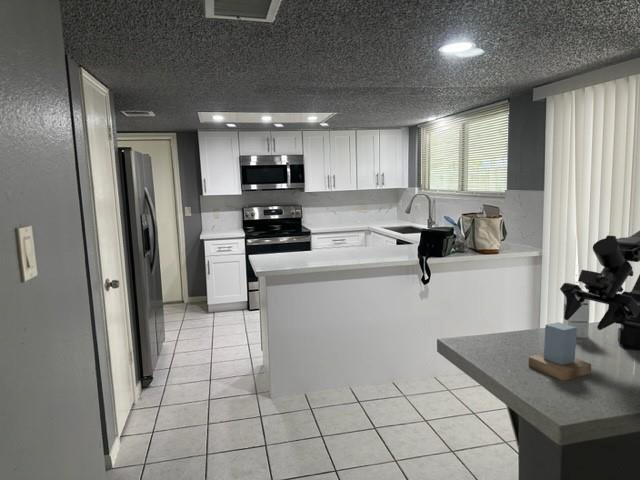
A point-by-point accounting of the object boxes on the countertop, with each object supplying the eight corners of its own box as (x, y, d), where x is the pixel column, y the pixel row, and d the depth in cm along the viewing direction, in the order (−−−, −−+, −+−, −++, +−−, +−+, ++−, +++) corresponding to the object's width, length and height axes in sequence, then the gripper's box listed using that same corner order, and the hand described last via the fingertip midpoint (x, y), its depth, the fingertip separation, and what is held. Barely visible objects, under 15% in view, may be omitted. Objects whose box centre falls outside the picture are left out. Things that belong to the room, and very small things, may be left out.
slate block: (556, 355, 115) (558, 322, 114) (574, 361, 111) (576, 327, 110) (543, 358, 113) (545, 324, 112) (561, 365, 109) (563, 330, 108)
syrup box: (589, 338, 134) (591, 292, 133) (568, 337, 136) (570, 291, 134) (581, 332, 140) (584, 287, 138) (561, 331, 141) (563, 287, 139)
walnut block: (555, 361, 119) (556, 350, 118) (590, 375, 110) (591, 364, 109) (528, 367, 115) (528, 356, 115) (562, 383, 106) (562, 371, 106)
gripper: (566, 254, 123) (535, 297, 120) (635, 264, 105) (602, 314, 103) (584, 278, 127) (555, 321, 124) (654, 292, 109) (622, 341, 107)
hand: (581, 323), depth 114 cm, fingers open, 9 cm apart
